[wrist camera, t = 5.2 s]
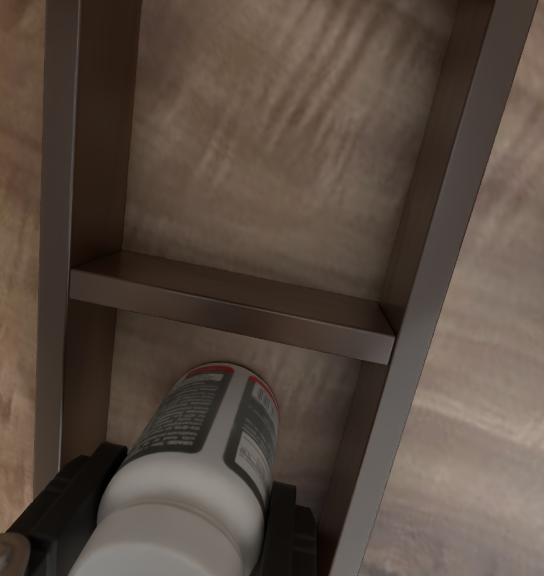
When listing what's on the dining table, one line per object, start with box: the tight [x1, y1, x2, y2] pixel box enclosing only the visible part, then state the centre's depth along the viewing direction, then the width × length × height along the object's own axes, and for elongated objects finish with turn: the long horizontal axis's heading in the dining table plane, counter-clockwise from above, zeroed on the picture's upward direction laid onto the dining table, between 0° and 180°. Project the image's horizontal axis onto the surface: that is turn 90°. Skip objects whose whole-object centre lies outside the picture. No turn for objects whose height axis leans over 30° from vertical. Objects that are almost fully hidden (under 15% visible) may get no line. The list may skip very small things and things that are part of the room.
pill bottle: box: [68, 363, 279, 576], centre depth 13 cm, size 5×5×8 cm
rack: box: [33, 0, 539, 576], centre depth 14 cm, size 12×23×4 cm, turn 169°
